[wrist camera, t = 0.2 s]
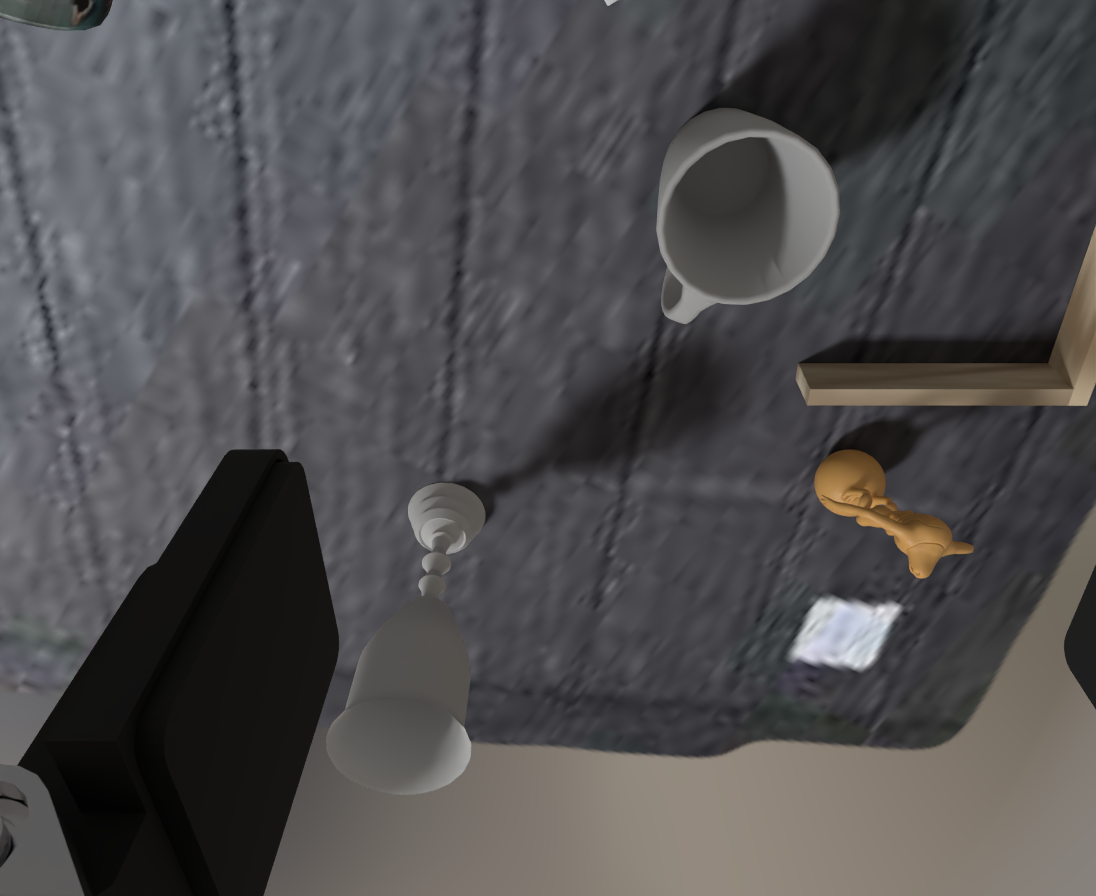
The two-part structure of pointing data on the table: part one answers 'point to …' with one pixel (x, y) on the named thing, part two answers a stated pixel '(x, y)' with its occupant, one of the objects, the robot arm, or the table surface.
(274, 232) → the table surface
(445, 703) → the chalice
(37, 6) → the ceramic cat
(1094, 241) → the wooden u-shaped frame
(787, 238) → the cup
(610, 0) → the external hard drive
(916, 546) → the figurine
